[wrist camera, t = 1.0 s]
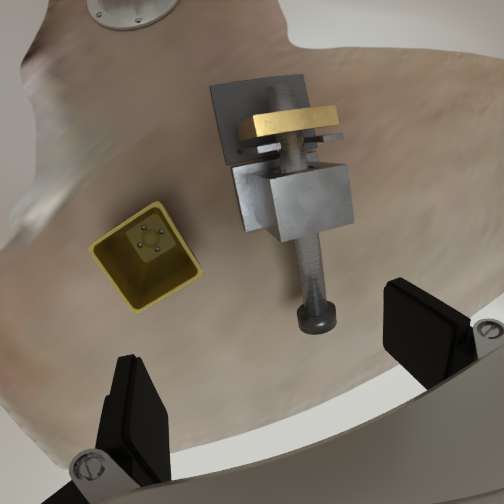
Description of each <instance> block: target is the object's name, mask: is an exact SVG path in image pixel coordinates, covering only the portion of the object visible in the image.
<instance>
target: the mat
mask: <svg viewBox="0 0 504 504" xmlns="http://www.w3.org/2000/svg"><path fill="white" fill-rule="evenodd" d="M285 83H290V84H292V86H293V90H294V95H295V100H296V104H297V109H302V108H310V105H309V100H308V95H307V91H306V86H305V81H304V77H303V74H300V75H288V76H278V77H269V78H260V79H253V80H246V81H239V82H232V83H226V84H221V85H215V86H210V91H211V96H212V100H213V105H214V110H215V114H216V119H217V124H218V129H219V133H220V138H221V143H222V147H223V152H224V157H225V161H226V165H229V164H234V163H238V162H243V161H248V160H252V159H257V158H262V157H267V156H272V155H278V154H279V153H278V150H273V151H268V152H262V153H253V154H238V152H237V149H242V148H246V147H251V146H257V145H262V144H267V143H273V142H276V137H275V135H270V136H265V137H259V138H254V139H249V140H243V141H239V136H238V131H237V126H236V125H237V124H238V123H240V122H242V121H244V120H246V119H248V118H249V117H251V116H253V115H260V114H266V113H270V108H269V103H268V99H267V94H266V89H265V88H267V87H269V86H273V85H278V84H285ZM302 135H303V137H310V136H315V130H314V129H308V130H302ZM304 145H305V149H311V148H318V147H317V142H314V143H304Z"/></svg>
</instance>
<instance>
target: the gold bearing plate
mask: <svg viewBox="0 0 504 504" xmlns="http://www.w3.org/2000/svg"><path fill="white" fill-rule="evenodd" d="M333 125H339V121H338V116H337V110H336V105H331V106H320V107H311V108H302V109H294V110H286V111H279V112H272V113H266V114H260V115H253V116H251V117H249V118H248V119H246V120H244V121H242V122H240V123H238V124H237V125H236V126H237V131H238V136H239V141H243V140H249V139H254V138H259V137H265V136H270V135H275V134H278V133H284V132H290V131H297V130H308V129H314V128H320V127H326V126H333Z"/></svg>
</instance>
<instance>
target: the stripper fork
mask: <svg viewBox="0 0 504 504" xmlns="http://www.w3.org/2000/svg"><path fill="white" fill-rule="evenodd" d="M340 139H343V133H339V134H329V135H319V136H310V137H303V140H304V143H314V142H326V141H333V140H340ZM278 149H281V144H280V143H277V142H273V143H267V144H262V145H257V146H251V147H246V148H242V149H237V152H238V154H253V153H262V152H268V151H273V150H278Z"/></svg>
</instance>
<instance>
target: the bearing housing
mask: <svg viewBox="0 0 504 504" xmlns="http://www.w3.org/2000/svg"><path fill="white" fill-rule="evenodd" d="M306 156H307V162H308V168H309V169H304V170H299V171H294V172H289V173H282V168H281V163H280V158H277V159H272V160H267V161H262V162H257V163H252V164H247V165H243V166H238V167H234V168H231V170H232V174H233V179H234V184H235V189H236V193H237V198H238V203H239V207H240V212H241V217H242V221H243V226H244V230H245V231H246V232H247V231H251V230H255V229H259V228H263V227H264V228H265V229H266V230H267V231H268V232H270V233H271V234H272V235H273V236H274V237H276V238H277V239H278V240H279V241H280V242H285V241H288V240H292V239H296V238H300V237H303V236H307V235H311V234H315V233H318V232H322V231H326V230H329V229H333V228H337V227H341V226H344V225H348V224H352V223H354V215H353V206H352V197H351V190H350V182H349V175H348V168H347V164H336V163H324V162H318V156H317V152H309V153H306Z"/></svg>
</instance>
